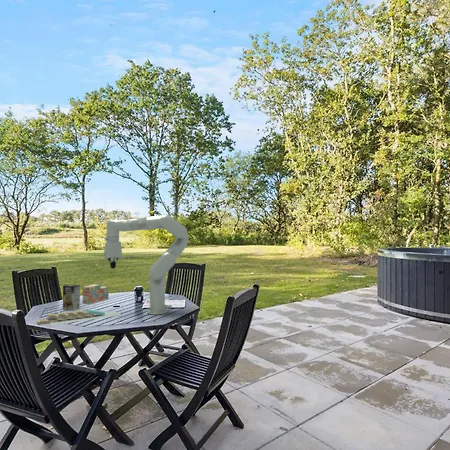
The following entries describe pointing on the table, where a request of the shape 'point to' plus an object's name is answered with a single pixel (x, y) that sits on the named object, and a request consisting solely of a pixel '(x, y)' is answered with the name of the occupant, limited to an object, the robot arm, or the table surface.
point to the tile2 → (83, 313)
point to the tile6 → (47, 321)
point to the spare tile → (95, 312)
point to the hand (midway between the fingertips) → (113, 268)
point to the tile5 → (56, 316)
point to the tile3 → (75, 314)
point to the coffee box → (71, 297)
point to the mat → (87, 317)
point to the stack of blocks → (94, 293)
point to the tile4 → (65, 315)
